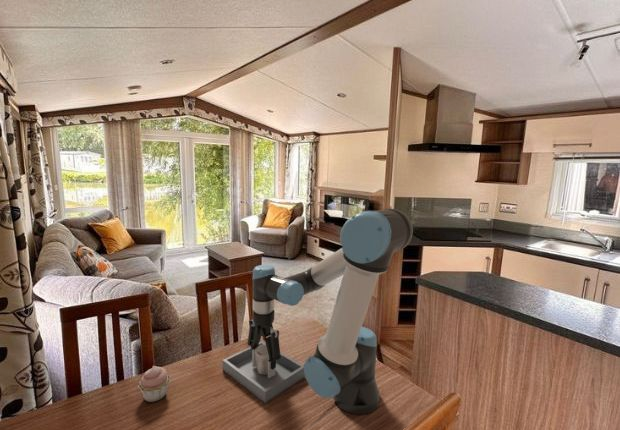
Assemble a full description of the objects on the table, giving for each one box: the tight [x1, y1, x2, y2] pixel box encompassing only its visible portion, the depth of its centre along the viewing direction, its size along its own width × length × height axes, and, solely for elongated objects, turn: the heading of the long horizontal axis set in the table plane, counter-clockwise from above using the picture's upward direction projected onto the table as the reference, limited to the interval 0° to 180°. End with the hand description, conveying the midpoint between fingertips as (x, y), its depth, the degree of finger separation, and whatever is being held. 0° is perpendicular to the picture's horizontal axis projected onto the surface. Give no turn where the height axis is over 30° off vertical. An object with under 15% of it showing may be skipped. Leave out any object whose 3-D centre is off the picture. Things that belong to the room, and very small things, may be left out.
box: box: [222, 341, 306, 404], centre depth 112 cm, size 24×18×4 cm
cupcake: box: [137, 365, 172, 403], centre depth 99 cm, size 9×9×10 cm
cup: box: [255, 344, 269, 375], centre depth 111 cm, size 11×8×8 cm
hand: (263, 370), depth 112 cm, fingers closed on cup, 8 cm apart
